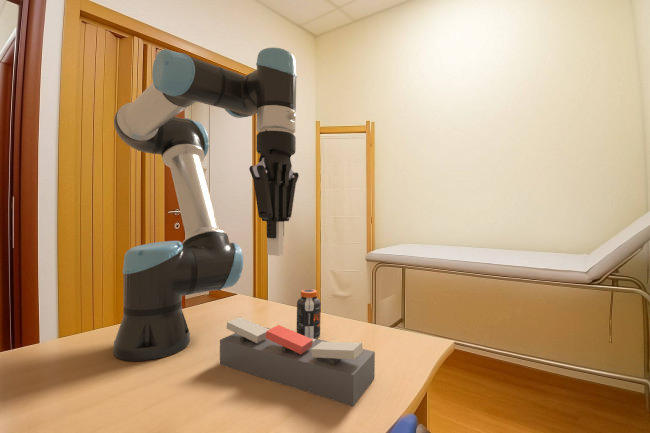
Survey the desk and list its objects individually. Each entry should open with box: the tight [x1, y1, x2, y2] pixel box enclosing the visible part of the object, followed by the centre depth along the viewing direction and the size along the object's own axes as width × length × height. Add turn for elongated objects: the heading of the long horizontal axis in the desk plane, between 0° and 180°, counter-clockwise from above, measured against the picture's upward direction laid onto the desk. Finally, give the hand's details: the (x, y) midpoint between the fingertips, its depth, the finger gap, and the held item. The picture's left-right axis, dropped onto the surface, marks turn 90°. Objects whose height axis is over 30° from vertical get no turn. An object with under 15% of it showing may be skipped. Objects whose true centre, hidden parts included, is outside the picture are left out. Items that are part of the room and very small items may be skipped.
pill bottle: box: [296, 288, 322, 339], centre depth 81 cm, size 6×6×11 cm
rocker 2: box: [311, 341, 364, 359], centre depth 56 cm, size 8×4×1 cm, turn 62°
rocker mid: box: [266, 324, 313, 354], centre depth 61 cm, size 8×4×1 cm, turn 62°
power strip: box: [219, 326, 376, 407], centre depth 63 cm, size 29×10×6 cm, turn 62°
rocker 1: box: [226, 316, 269, 343], centre depth 66 cm, size 8×4×1 cm, turn 62°
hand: (275, 254), depth 63 cm, fingers closed
